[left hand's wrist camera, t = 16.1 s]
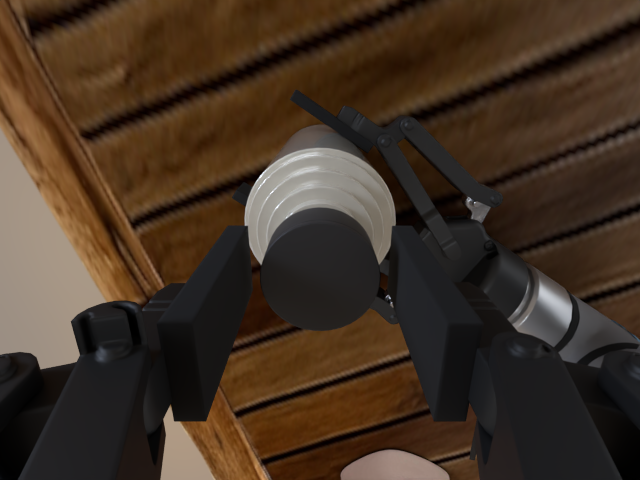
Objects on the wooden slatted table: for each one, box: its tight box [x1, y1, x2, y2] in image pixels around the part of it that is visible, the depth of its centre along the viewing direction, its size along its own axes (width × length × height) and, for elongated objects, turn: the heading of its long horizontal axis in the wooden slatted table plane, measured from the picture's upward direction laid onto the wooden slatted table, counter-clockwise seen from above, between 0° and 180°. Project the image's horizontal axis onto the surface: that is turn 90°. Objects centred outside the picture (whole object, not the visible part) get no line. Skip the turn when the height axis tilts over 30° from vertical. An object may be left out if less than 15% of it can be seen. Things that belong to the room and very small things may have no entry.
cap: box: [260, 207, 380, 331], centre depth 14 cm, size 4×4×2 cm
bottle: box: [245, 125, 396, 265], centre depth 24 cm, size 7×7×22 cm
